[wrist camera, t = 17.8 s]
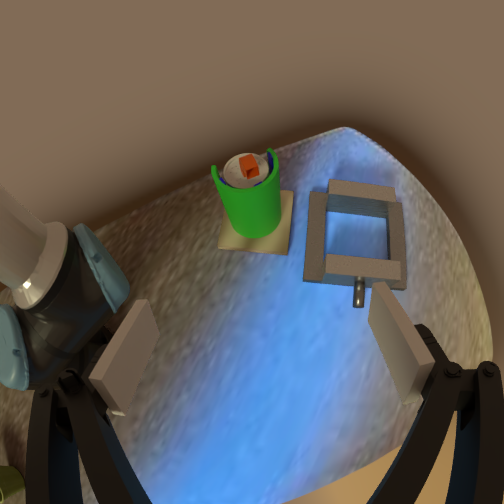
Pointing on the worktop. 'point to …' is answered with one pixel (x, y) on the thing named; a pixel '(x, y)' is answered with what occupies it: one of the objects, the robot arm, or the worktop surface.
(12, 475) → the plant pot
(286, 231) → the board
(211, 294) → the worktop surface
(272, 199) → the green-shelled ribbed roller
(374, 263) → the vise
